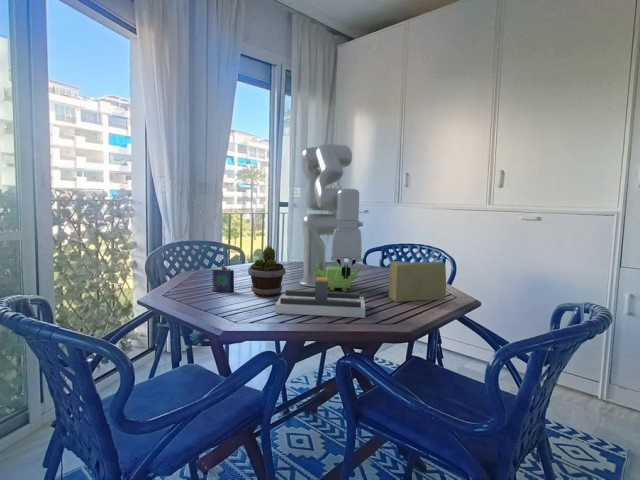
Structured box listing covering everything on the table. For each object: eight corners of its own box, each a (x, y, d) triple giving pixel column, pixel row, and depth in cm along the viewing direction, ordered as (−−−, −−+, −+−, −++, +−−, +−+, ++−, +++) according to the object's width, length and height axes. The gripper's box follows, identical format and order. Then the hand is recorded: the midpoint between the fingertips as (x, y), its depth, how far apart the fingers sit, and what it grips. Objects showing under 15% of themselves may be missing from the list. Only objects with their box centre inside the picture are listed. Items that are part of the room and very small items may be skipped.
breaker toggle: (316, 297, 138) (316, 276, 137) (327, 298, 137) (328, 277, 136) (315, 301, 133) (315, 279, 132) (326, 301, 132) (327, 280, 131)
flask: (210, 291, 155) (211, 264, 154) (214, 289, 158) (214, 263, 157) (232, 292, 154) (232, 266, 152) (235, 291, 157) (235, 265, 155)
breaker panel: (282, 301, 144) (282, 289, 143) (363, 305, 142) (363, 292, 141) (275, 313, 129) (275, 299, 128) (365, 317, 127) (365, 304, 126)
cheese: (439, 296, 159) (441, 260, 157) (450, 302, 150) (452, 264, 148) (387, 296, 156) (389, 259, 154) (395, 302, 146) (397, 264, 145)
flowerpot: (279, 300, 145) (280, 247, 143) (241, 296, 148) (241, 245, 146) (290, 291, 159) (291, 243, 157) (255, 288, 162) (255, 241, 160)
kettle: (362, 289, 165) (363, 264, 164) (339, 294, 156) (340, 267, 154) (337, 283, 176) (338, 259, 175) (314, 287, 167) (315, 262, 165)
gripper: (368, 225, 135) (366, 277, 136) (326, 224, 136) (324, 275, 137) (370, 226, 127) (368, 281, 129) (324, 225, 128) (323, 279, 130)
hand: (345, 278), depth 133 cm, fingers closed
